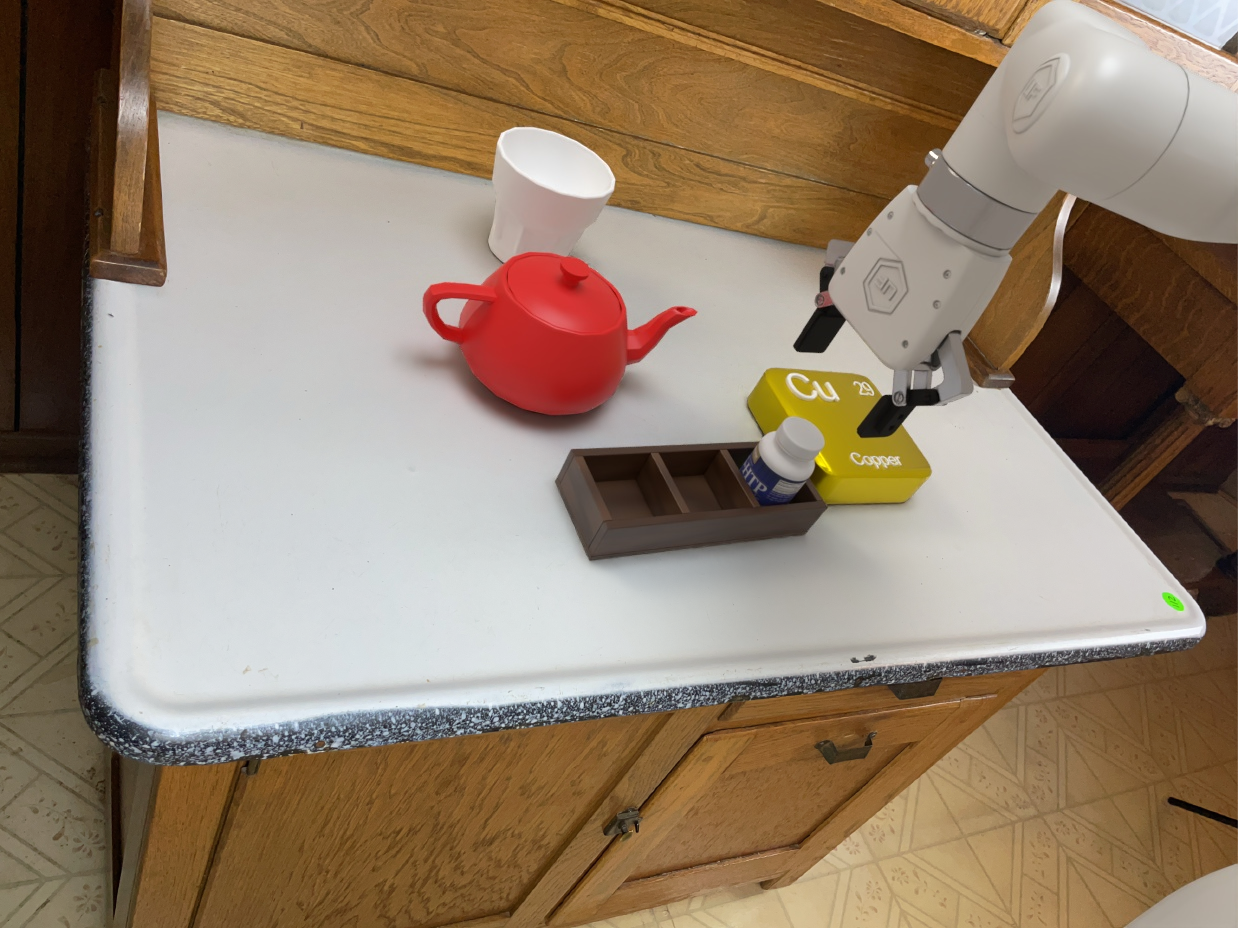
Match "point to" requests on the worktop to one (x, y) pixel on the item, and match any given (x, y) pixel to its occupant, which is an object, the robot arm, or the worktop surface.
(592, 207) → the cup
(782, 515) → the rack
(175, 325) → the worktop surface
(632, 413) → the worktop surface
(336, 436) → the worktop surface
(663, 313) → the teapot
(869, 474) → the element tile
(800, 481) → the pill bottle
